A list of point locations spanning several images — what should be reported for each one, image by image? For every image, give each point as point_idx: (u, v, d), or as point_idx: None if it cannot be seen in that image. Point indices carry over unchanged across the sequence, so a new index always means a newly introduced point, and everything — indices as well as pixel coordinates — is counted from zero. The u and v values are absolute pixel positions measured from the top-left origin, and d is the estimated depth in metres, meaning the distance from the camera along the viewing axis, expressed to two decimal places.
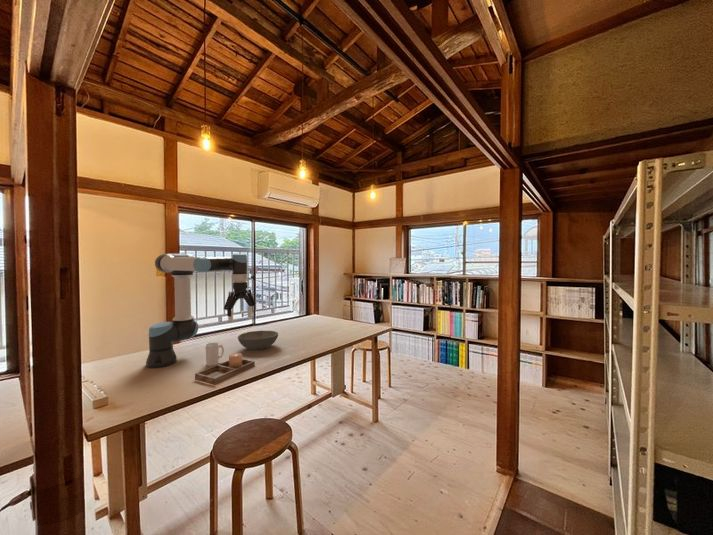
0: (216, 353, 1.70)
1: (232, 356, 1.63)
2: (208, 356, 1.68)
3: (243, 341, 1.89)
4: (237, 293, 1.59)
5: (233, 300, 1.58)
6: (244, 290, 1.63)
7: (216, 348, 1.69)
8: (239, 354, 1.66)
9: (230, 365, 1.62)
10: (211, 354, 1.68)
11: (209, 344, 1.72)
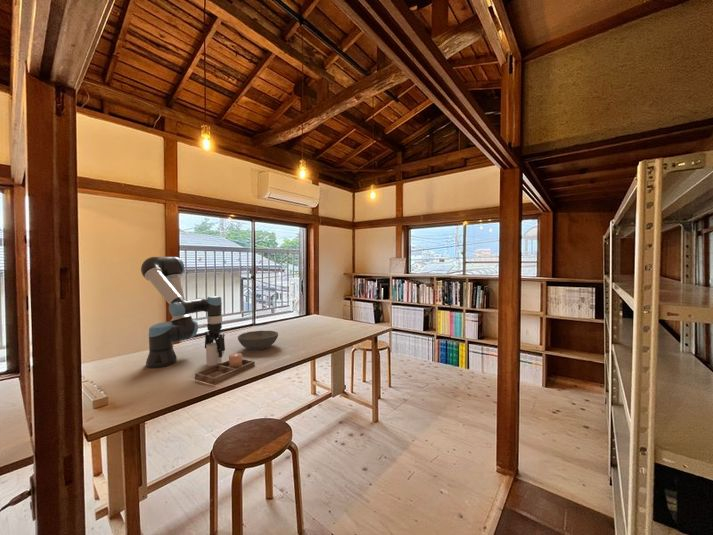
0: (216, 353, 1.69)
1: (232, 356, 1.63)
2: (208, 356, 1.68)
3: (243, 341, 1.89)
4: (209, 332, 1.72)
5: None
6: (215, 331, 1.69)
7: (216, 348, 1.69)
8: (239, 354, 1.66)
9: (230, 365, 1.62)
10: (211, 354, 1.67)
11: None
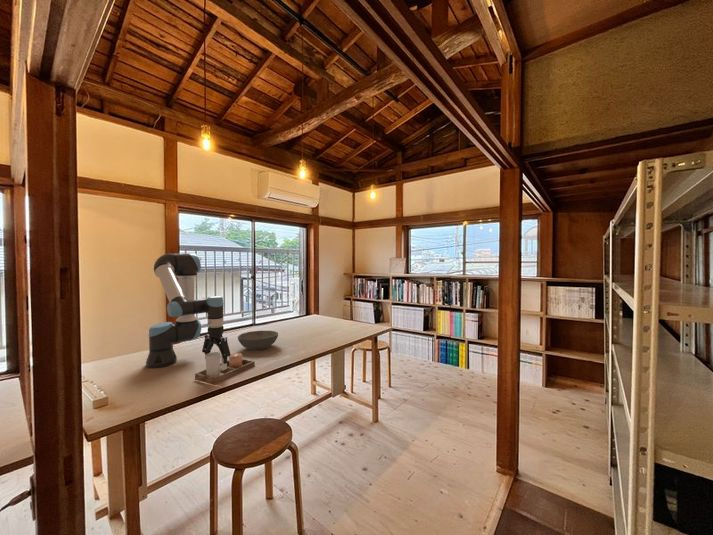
0: (217, 364, 1.51)
1: (232, 356, 1.63)
2: (208, 368, 1.49)
3: (243, 341, 1.89)
4: (210, 337, 1.53)
5: None
6: (216, 336, 1.51)
7: (218, 358, 1.51)
8: (239, 354, 1.66)
9: (230, 365, 1.62)
10: (212, 366, 1.49)
11: (210, 354, 1.54)
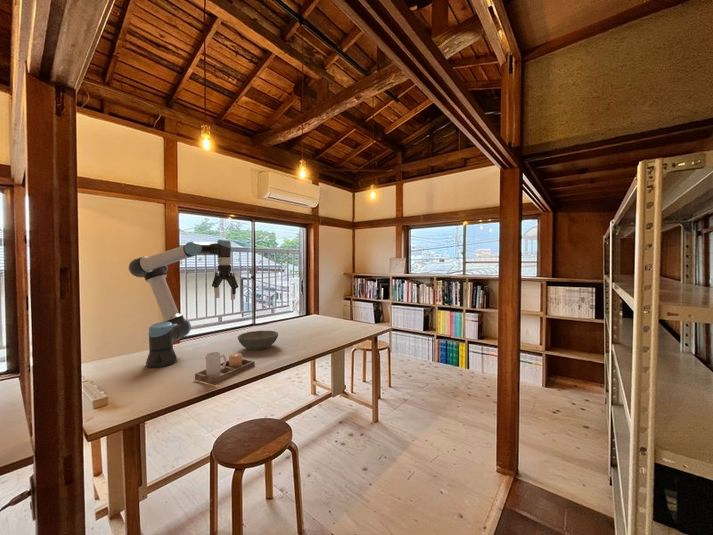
0: (217, 364, 1.51)
1: (232, 356, 1.63)
2: (208, 368, 1.49)
3: (243, 341, 1.89)
4: (219, 274, 1.82)
5: None
6: (225, 272, 1.80)
7: (217, 359, 1.51)
8: (239, 354, 1.66)
9: (230, 365, 1.62)
10: (212, 366, 1.49)
11: (210, 354, 1.54)
